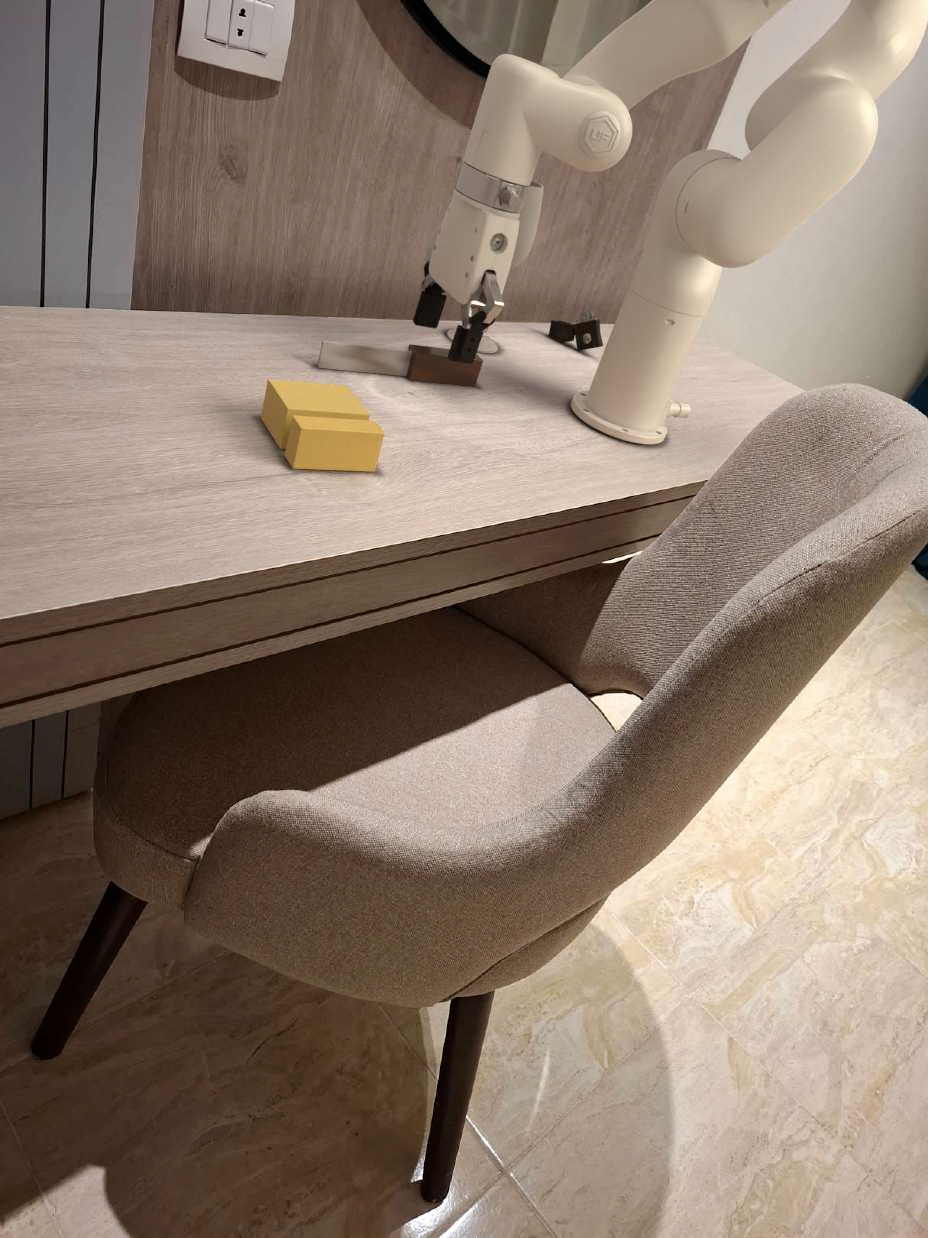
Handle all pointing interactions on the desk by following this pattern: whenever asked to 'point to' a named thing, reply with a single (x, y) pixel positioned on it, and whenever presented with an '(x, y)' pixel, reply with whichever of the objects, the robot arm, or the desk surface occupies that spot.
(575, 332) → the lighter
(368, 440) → the butter slice
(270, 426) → the butter block
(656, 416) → the robot arm
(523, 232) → the wineglass
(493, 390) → the desk surface
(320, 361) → the knife
